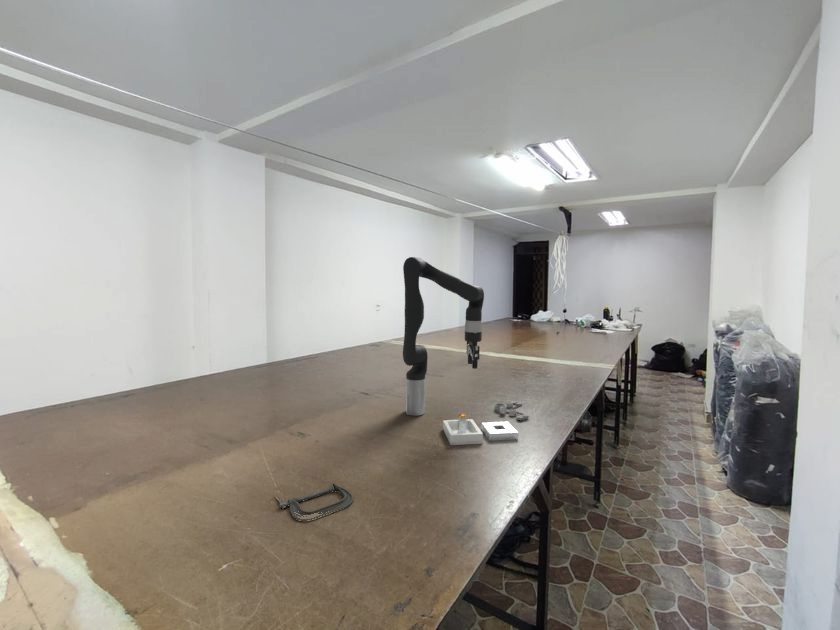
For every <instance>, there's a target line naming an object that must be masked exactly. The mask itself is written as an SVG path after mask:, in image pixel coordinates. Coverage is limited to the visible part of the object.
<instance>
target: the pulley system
mask: <svg viewBox="0 0 840 630" xmlns="http://www.w3.org/2000/svg"><path fill="white" fill-rule="evenodd" d="M513 405H515V406H513ZM522 406H523V402H520V401H519V402H517V401H515V400H511V401H507V402H506V404H505V403H502V402H499V403H495V405H494V411H495V412H496V413H499V414H502V415H503V414H506V415H507V414H509V417H516V420H517V421H519V420H520V422H522V421H523V420H527V419H528V418H529V414H528V413H527V414H525V413H523V412H519V411H516V409H518V408H520V407H522ZM517 407H518V408H517ZM507 409H508V411H507ZM517 414H518V415H517ZM521 420H522V421H521Z"/></svg>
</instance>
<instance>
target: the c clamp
mask: <svg viewBox="0 0 840 630" xmlns="http://www.w3.org/2000/svg"><path fill="white" fill-rule="evenodd" d="M332 491H333V492H332ZM335 491H338V492H337V493H339V492H340V493H341V494H340V493H339V494H340V495H341V496H342V499H341V500H339V501H335V502H333V503H329V504H327V505H325V506H322V507H320V508H317V509H313V510H311V511H308V510H304V509H303V508H302V506H301V505H300V503H301V502H300V501H303V500H306V499H309V500H311V499H310V498H312V497H315V496H318V495H321V496H323V495H322V494H324V495H326V494H329V493H334V492H335ZM328 492H329V493H328ZM325 493H326V494H325ZM335 493H336V492H335ZM318 497H319V496H318ZM315 498H316V497H315ZM312 499H313V498H312ZM306 501H307V500H306ZM297 502H300V503H297ZM303 502H304V501H303ZM279 503H280V504H279ZM353 503H354V496H353V494H352V493H351V492H350V491H349V490H347V489H345V488H344V487H342V486H338V485H337V484H336V483H335V482H334V483H331V485H330V487H329V488H323V489H322V490H319V491H314V492H313V493H309V494H307V495H303V496H300V497H297V498H296V497H292V498H289V499H287V501H285V502H282V500H281V499H280V500H279V502H278V504H279V509H280V508H282V509H281V510H285V509H286V507H285V506H288V505H289V506H290V507H289V511H290V514H292V515H291V517H292V518H293V517H294V518H295V519H297V520H301V521H307V520H312V519H315V518H318V517H320V516H323V515H326V514H329V513H331V512H334V511H337V510H340V509H343V508H345V509H347V508H349V507H350V506H351V505H352V504H353ZM348 506H349V507H348ZM346 507H347V508H346ZM284 508H285V509H284ZM343 510H344V509H343ZM298 511H299V512H298ZM328 511H329V512H328ZM340 511H341V510H340ZM294 512H296V513H298V514H300V515H301V516H303V515H311V514H314V513H318V512H319V513H318V514H322V513H323V514H322V515H319V516H316V517H314V518H311V519H300V518H298V517H297V516H299V517H301V516H300V515H298V514H296V513H294ZM321 512H322V513H321ZM326 512H327V513H326ZM295 514H296V515H295ZM303 517H304V516H303ZM306 517H307V516H306ZM294 518H293V519H294ZM295 519H294V520H295Z"/></svg>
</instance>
